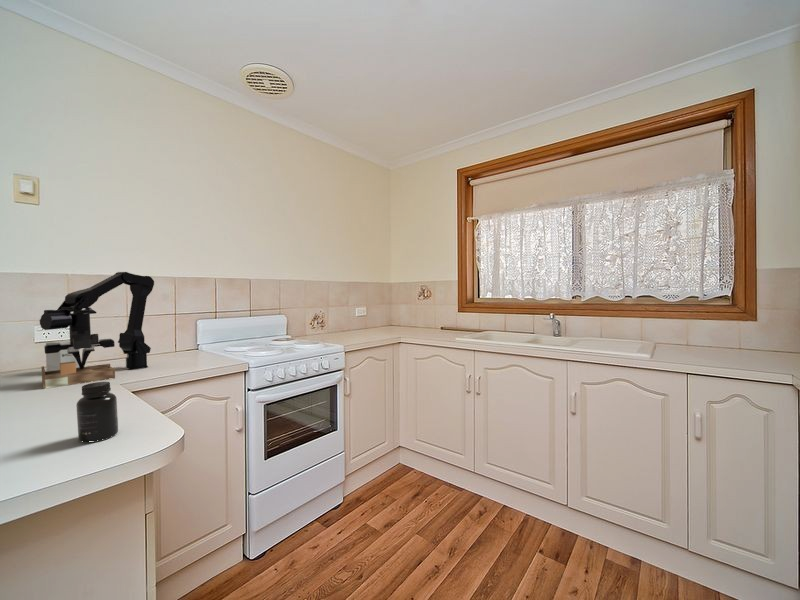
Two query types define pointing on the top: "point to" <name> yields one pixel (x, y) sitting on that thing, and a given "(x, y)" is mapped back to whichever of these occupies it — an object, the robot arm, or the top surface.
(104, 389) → the supplement bottle
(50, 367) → the supplement box
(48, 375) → the brown flat box
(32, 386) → the top surface
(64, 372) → the block
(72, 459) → the top surface
